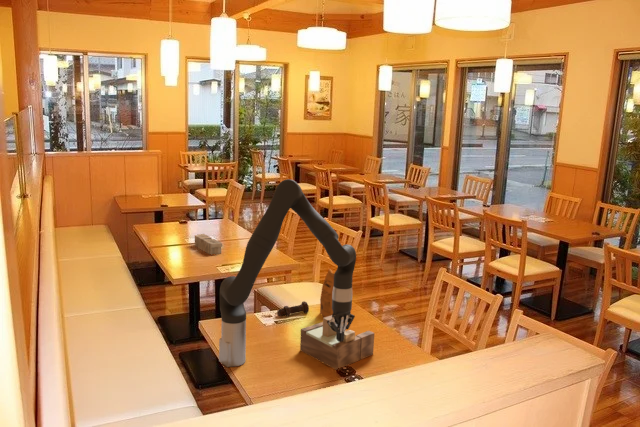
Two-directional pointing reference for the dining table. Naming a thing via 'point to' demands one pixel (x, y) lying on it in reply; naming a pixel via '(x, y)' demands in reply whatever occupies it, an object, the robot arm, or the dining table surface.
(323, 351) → the wooden box frame
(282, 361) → the dining table surface
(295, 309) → the bolt
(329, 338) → the lid
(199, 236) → the block tower
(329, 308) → the coffee package
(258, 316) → the dining table surface
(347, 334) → the tan wooden block
